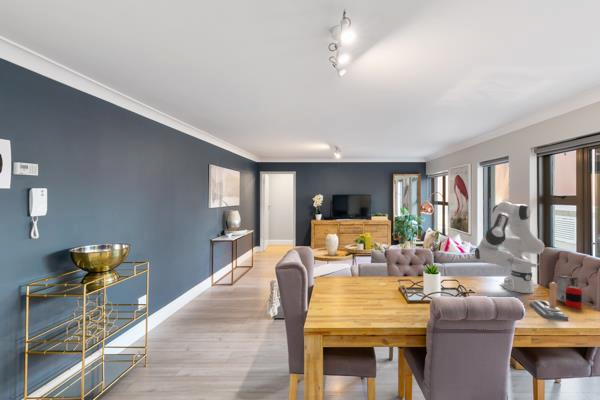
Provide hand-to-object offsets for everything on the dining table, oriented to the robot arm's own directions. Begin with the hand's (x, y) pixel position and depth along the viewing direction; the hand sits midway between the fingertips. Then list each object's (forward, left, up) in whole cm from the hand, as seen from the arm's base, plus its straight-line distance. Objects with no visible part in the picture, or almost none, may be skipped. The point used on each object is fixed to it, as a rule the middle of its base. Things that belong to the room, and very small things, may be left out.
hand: (532, 264), depth 182 cm
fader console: (-2, +12, -29) cm, 31 cm away
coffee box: (-22, +42, -29) cm, 56 cm away
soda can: (-12, +37, -29) cm, 49 cm away
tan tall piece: (+4, +10, -27) cm, 29 cm away
